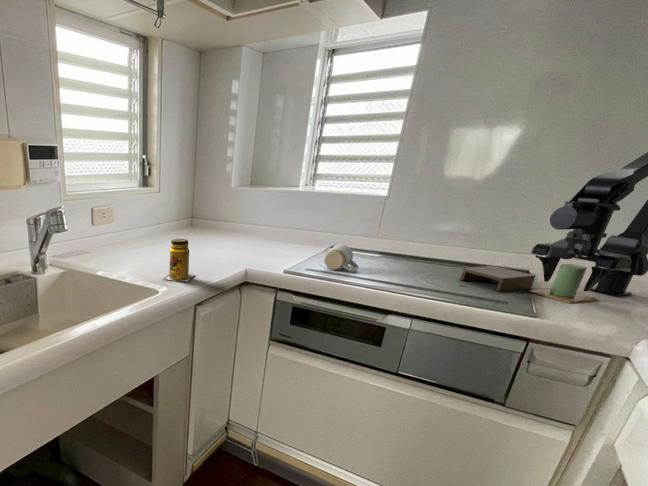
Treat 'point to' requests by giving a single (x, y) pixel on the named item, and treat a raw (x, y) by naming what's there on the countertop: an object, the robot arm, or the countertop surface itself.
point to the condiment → (179, 261)
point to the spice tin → (568, 280)
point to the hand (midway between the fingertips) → (565, 286)
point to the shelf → (499, 277)
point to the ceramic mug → (340, 258)
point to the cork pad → (566, 299)
